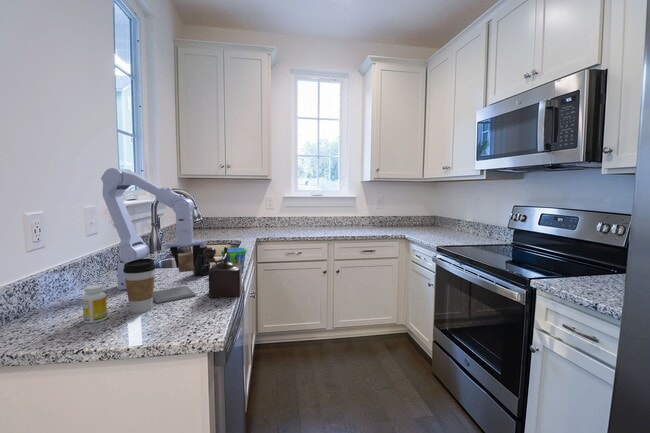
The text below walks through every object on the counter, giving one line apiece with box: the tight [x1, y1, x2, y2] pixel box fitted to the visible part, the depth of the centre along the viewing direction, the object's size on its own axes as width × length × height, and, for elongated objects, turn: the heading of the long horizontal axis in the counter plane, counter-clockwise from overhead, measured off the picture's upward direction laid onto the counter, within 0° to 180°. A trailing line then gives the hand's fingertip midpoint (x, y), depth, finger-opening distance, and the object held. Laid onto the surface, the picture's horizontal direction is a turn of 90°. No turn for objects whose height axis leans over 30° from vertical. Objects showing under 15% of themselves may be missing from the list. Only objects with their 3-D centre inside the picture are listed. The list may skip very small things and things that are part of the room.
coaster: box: [153, 285, 197, 305], centre depth 110 cm, size 12×12×1 cm
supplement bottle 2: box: [192, 245, 211, 277], centre depth 136 cm, size 7×7×12 cm
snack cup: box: [220, 247, 247, 273], centre depth 139 cm, size 16×10×10 cm
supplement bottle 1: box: [82, 284, 108, 324], centre depth 89 cm, size 5×5×10 cm
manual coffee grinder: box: [203, 246, 243, 299], centre depth 109 cm, size 16×11×18 cm
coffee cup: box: [123, 257, 156, 314], centre depth 96 cm, size 8×8×15 cm
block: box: [177, 252, 194, 273], centre depth 120 cm, size 5×5×6 cm
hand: (185, 265), depth 120 cm, fingers closed on block, 5 cm apart
